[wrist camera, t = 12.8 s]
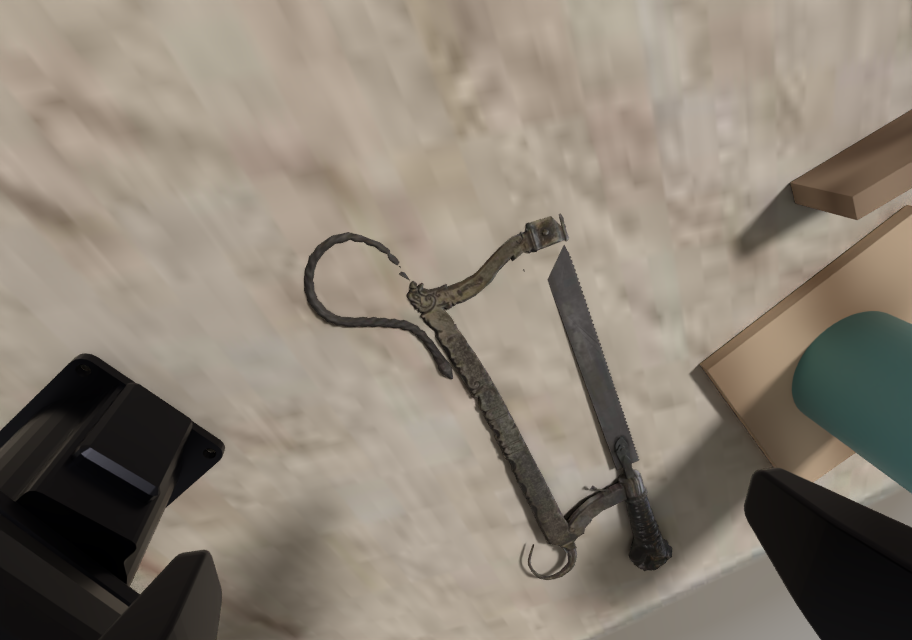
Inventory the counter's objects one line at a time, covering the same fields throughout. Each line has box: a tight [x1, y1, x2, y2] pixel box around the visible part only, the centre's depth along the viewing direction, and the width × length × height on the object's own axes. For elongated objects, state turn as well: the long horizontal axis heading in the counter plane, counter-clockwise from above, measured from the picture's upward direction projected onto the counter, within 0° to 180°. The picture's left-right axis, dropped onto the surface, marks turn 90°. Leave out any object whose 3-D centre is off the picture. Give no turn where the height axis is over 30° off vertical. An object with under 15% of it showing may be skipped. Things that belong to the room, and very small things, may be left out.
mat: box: [700, 205, 912, 482], centre depth 26 cm, size 11×11×1 cm
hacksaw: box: [304, 214, 672, 580], centre depth 24 cm, size 24×10×2 cm, turn 23°
